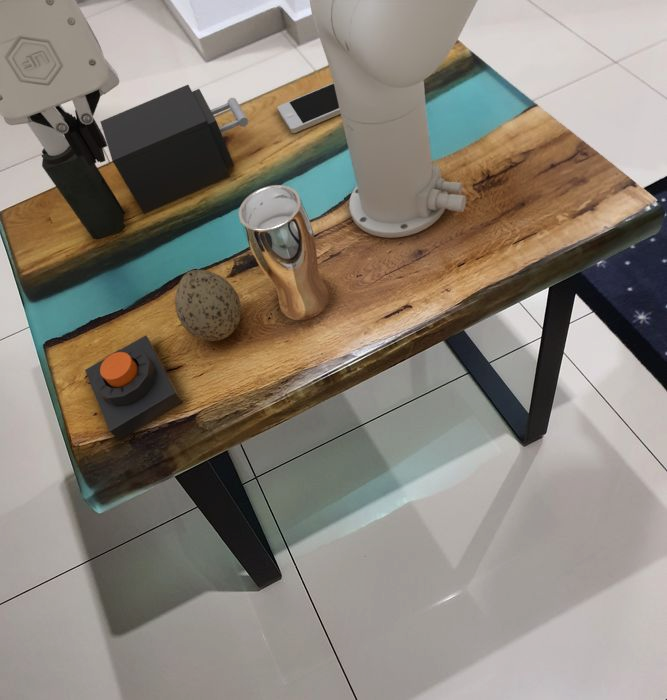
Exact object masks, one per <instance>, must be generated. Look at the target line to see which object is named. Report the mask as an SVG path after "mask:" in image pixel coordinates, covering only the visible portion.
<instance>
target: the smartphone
mask: <svg viewBox="0 0 667 700" xmlns="http://www.w3.org/2000/svg"><path fill="white" fill-rule="evenodd" d="M277 111H278V114H279V115H280V116H281V118H282V120H283V121H284V123H285V125H286V127H287V128H288V129H289V131H290V132H291V134H297V133H299V132H301V131H304V130H306V129H308V128H310V127H313V126H316V125H318V124H320V123H323V122H324V121H327V120H329V119H331V118H334V117H336V116H339V115H341V113H340V109H339V104H338V100H337V95H336V91H335V87H334V83H333V82H331V83H329V84H327V85H325V86H322V87H320V88H318V89H315V90H313V91H310V92H308V93H306V94H302V95H301V96H299V97H296V98H293V99H291V100H289V101H287V102H284V103H281V104H280V105H278V106H277Z"/></svg>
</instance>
